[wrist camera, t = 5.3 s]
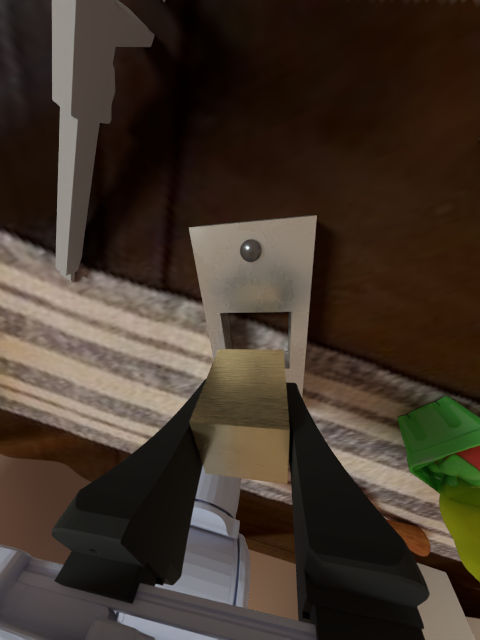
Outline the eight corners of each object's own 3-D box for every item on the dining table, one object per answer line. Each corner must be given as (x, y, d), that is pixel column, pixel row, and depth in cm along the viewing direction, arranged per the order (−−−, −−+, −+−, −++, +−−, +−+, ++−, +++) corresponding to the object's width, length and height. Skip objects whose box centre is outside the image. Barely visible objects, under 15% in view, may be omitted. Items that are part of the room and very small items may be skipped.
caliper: (154, -24, 10) (16, -303, 5) (172, -5, 10) (59, -250, 5) (66, 274, 19) (-16, 298, 14) (76, 281, 20) (0, 307, 14)
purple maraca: (405, 566, 30) (306, 531, 26) (390, 513, 35) (303, 475, 30) (451, 574, 27) (345, 535, 22) (428, 513, 31) (335, 471, 27)
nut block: (283, 397, 14) (287, 483, 9) (226, 394, 14) (205, 473, 10) (283, 349, 12) (289, 430, 7) (218, 349, 12) (189, 422, 8)
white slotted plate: (297, 396, 22) (301, 419, 20) (228, 393, 23) (222, 414, 21) (309, 215, 14) (317, 215, 11) (200, 225, 15) (187, 228, 13)
